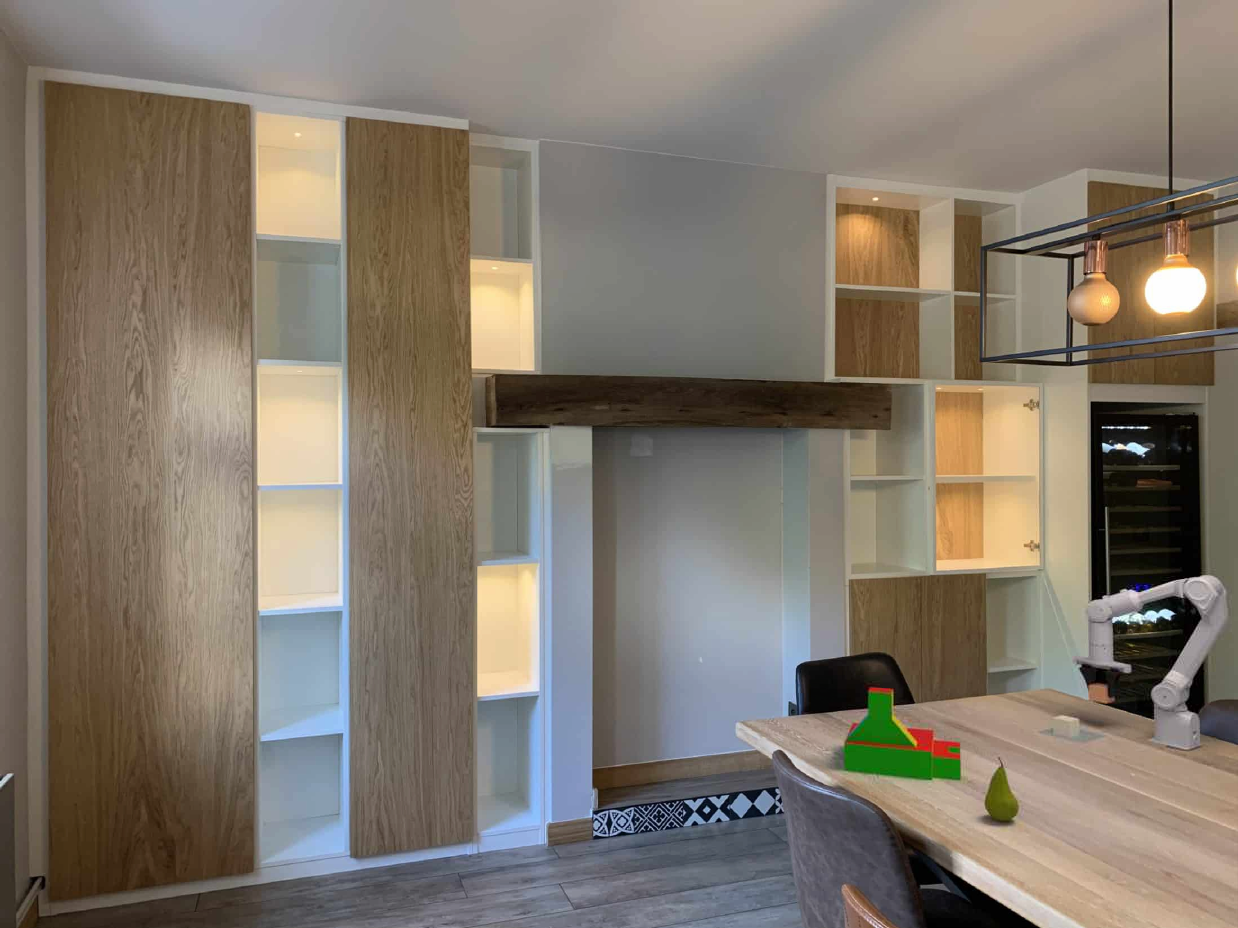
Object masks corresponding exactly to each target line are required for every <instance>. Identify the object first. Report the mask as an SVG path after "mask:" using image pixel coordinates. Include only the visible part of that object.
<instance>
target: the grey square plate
mask: <svg viewBox="0 0 1238 928" xmlns="http://www.w3.org/2000/svg"><path fill="white" fill-rule="evenodd" d="M1037 733H1038V734H1043V735H1047V736H1051V737H1057V738H1060V739H1064V740H1067V741H1072V742H1078V743H1081V744H1085V743H1089V742H1091V741H1094V740H1098V739H1100V738H1105V737H1107V734H1101V733H1097V732H1093V731H1089V730H1083V729H1080V728H1079V734H1078V735H1075V736H1072V737H1068V736H1064V735H1060V734H1056V733H1053V727H1051V728H1048V729H1044V730H1041V731H1038V732H1037Z"/></svg>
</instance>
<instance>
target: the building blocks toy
mask: <svg viewBox="0 0 1238 928" xmlns="http://www.w3.org/2000/svg"><path fill="white" fill-rule="evenodd" d="M867 694H868V696H867V699H868V701H867V703H868V705H867V710H868V713H867V715H865V716H864V718H862V719H861V721H859V722H852V724H851V726H850V728H849V731H848V733H847V735H846V737H845V741H844V743H843V749H844V750H843V758H844V759H843V760H844V761H843V762H844V763H843V764H844V765H843V766H844V767H843V768H844V769H843V770H844V771H845V772H853V773H862V774H869V775H870V774H872V775H881V776H888V777H889V776H890V777H897V778H898V777H899V778H907V779H915V780H925V781H933V778H934V779H945V780H946V779H947V780H952V781H954V780H955V781H962V774H961V773H962V771H961V770H962V769H961V767H962V766H961V764H962V761H961V759H962V758H961V742H959V741H952V740H951V741H950V740H940V739H939V740H938V739H935V730H933V729H924V728H923V729H921V728H915V727H914V728H913V727H907V729H906V727H905V726H904V725H903V723H902V722H901V721H900V720H899V719H898V718H897V717H896V716H895V714H894V689H893V688H884V687H883V688H882V687H871V686H870V687H869V689H868V691H867Z"/></svg>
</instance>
